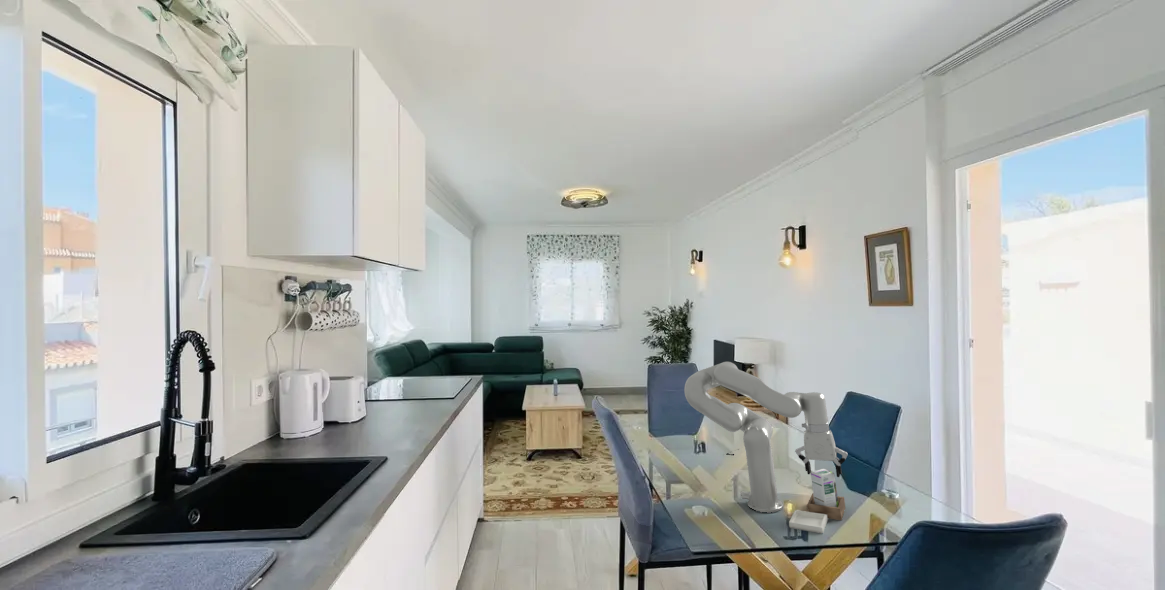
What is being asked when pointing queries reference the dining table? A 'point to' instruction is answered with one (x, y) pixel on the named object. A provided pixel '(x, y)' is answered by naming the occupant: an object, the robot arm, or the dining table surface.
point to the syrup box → (824, 488)
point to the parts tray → (808, 521)
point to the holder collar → (828, 508)
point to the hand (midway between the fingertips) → (823, 474)
